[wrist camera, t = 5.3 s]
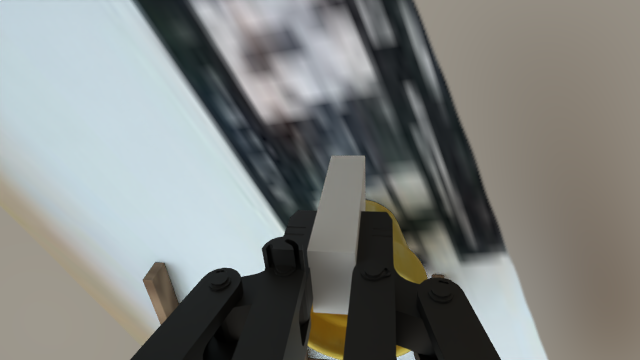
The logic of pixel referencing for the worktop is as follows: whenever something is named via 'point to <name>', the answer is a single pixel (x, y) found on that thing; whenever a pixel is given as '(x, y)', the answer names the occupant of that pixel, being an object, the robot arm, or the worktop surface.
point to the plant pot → (332, 327)
